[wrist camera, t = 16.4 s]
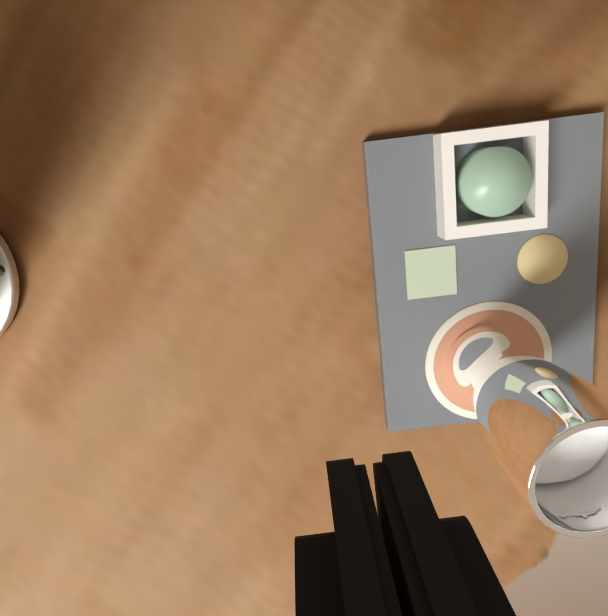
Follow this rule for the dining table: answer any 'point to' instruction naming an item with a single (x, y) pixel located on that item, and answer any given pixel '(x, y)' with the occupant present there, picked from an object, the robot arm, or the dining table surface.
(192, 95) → the dining table surface
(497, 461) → the beer glass
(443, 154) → the picture board
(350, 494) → the robot arm
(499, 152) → the button
